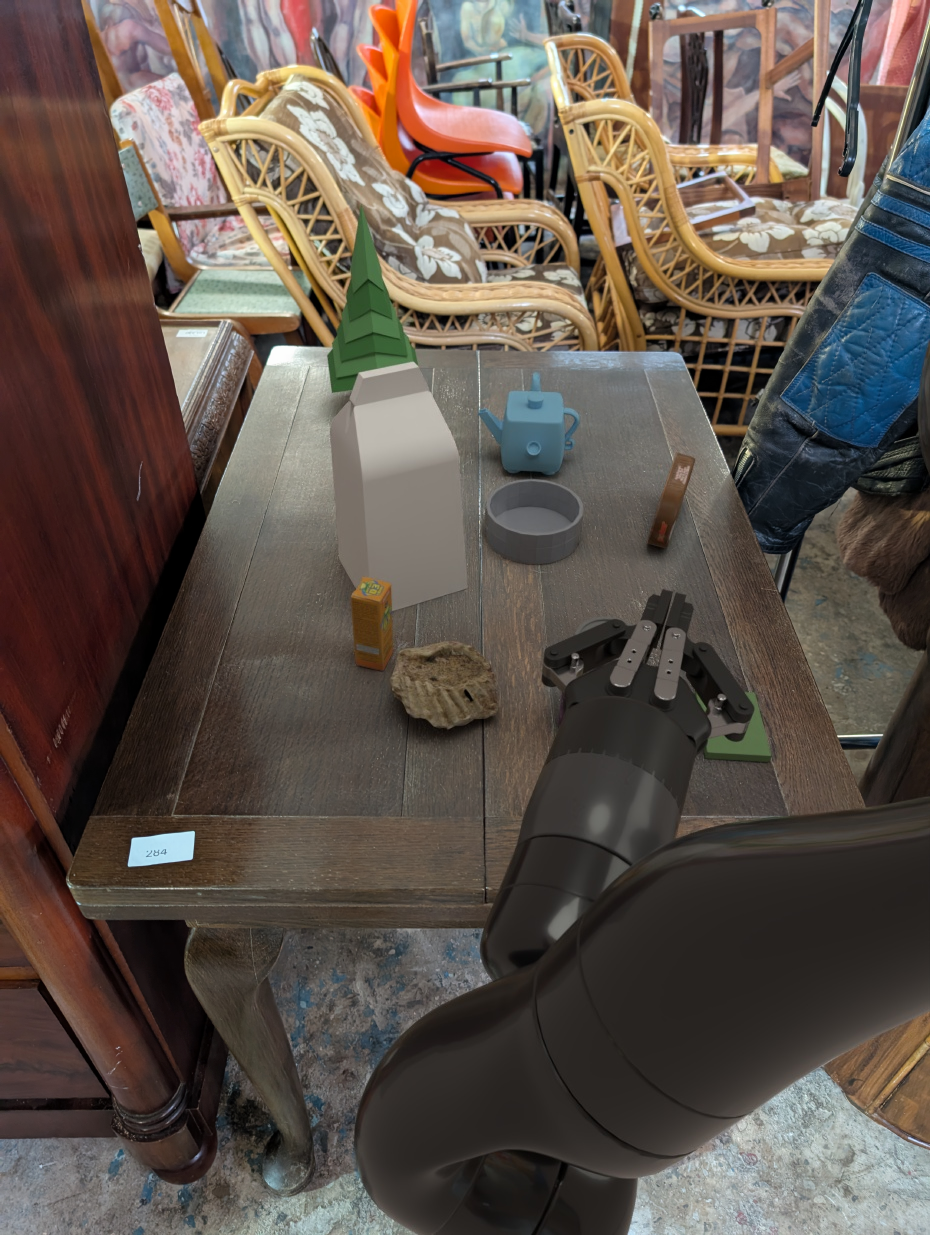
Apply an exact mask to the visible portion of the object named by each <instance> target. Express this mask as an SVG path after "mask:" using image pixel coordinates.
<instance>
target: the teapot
mask: <svg viewBox="0 0 930 1235" xmlns="http://www.w3.org/2000/svg"><path fill="white" fill-rule="evenodd" d="M529 388H530V389H529V390H511V391H509V393H508V395H507V400H506V404H505V409H504V414H503V418H502V420H500V419H499V418H498V417H497V416H496V415H494V413H493V412H491V410H489V409H488V407H486V408H481V409H477V410H478V412H477V414H478V416H479V417H480V419H481V420H482V422H483V423H484V426H486V428H487V429H488V431H489V432H490V434H491V435H492V437H493V438H494V439H495V441H496V443H497V445H499V446H500V457H501V458H500V459H501V463H502V467H503V469H504V470H505V471H507V472H508V473H510V474H518V473H520V472H521V471H522V472H541V474H543V475H546V476H552V475H554V474H556V473H557V472H559V471H560V469H561V467H562V464H563V460H564V454H565V451H571V450H572V449H574V447H575V445H576V442H575V441H576V440H575V439H574V437H573V438H572V436H573V435H574V434H575V433H576V431H577V429H578V428H579V425H580V423H581V422H580V421H581V418H580V415H579V414H578V412H577V411H576V410H575V409H573V408H570V407H564V399H563V395H562V394H561V393H560V392H555V391H554V392H553V391H542V389H541V375H540V373H539V372H536V371H535V372H534V373H533V374H532V377H531V384H530V387H529ZM565 415H568V416H570V417H572V418H573V419H574V420H573V423H572V425H571V427H570V428H569V429H568V430H567V432H566V419H565ZM567 442H569V443H568V444H567Z"/></svg>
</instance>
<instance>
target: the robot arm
mask: <svg viewBox="0 0 930 1235" xmlns="http://www.w3.org/2000/svg"><path fill="white" fill-rule="evenodd" d="M918 388H919V389H918V395H917V396H918V397H917V428H918V439H919V440H918V441H919V445H920V451H921V456H922V459H923V462H924V464H925V466H926V469H927V472H928V475H929V476H930V339H929V341H928V344H927V347H926V351H925V355H924V358H923V363H922V369H921V373H920V379H919V387H918ZM673 594H674V591H672V590H668V589H665V588H662V589H661V593H660V595H659V594H654V593H653V594H651V595H650V596H649V597H648V598H647V602H646V604H645V607H644V609H643V612H642V615H641V618H640V621H638V622H637V623H636V624H632V626H626V624H625V623H624V622H623V621H622V620H623V619H622V620H619V619H620V618H619V619H612V620H609V621H607V622H605V623H602V624H600V625H598V626H595V627H593V628H591V629H588V630H586V631H584V632H582V633H579V634H577V635H575V634H574V635H575V636H574V635H573V636H570V637H568V638H566V639H563V640H561V641H558V642H556V643H554V644H551V645H550V646H547V647H546V648H545V649H544V652H543V659H542V665H541V666H542V667H541V682H542V684H543V685H544V686H546V687H548V688H557V689H558V690H559V692H560V693H561V694H562V693H563V694H564V697H565V698H564V700H563V710H564V713H565V714H564V717H563V719H562V722H561V724H560V725H559V727H558V729H557V732H556V734H555V737H554V739H553V741H552V743H551V746H550V749H549V751H548V754H547V756H546V758H545V761H544V762H543V766H542V769H541V771H540V773H539V776H538V778H537V780H536V783H535V786H534V789H533V791H532V793H531V795H530V797H529V800H528V803H527V805H526V808H525V811H524V814H523V818H522V821H521V825H520V829H519V834H518V838H517V841H516V846H515V848H514V851H513V853H512V856H511V858H510V861H509V863H508V865H507V868H506V870H505V873H504V875H503V878H502V880H501V883H500V885H499V887H498V891H497V893H496V896H495V898H494V901H493V903H492V905H491V908H490V910H489V912H488V914H487V918H486V921H485V924H484V927H483V928H482V933H481V936H480V942H479V957H480V960H481V963H482V966H483V970H484V971H485V973H486V975H487V976H488V977H489V979H490V980H491V981H489V982H487V983H484V984H482V985H480V986H478V987H476V988H474V989H472V990H469V991H467V992H465V993H463V994H460V995H458V996H455V997H453V998H451V999H449V1000H448V1001H446V1002H443V1003H442V1004H440V1005H438V1006H437V1007H435V1008H433V1009H431V1010H430V1011H428V1012H426V1013H425V1014H424V1015H423V1016H421V1017H419V1019H418V1020H416V1021H415V1022H414V1023H412V1024H411V1025H410V1026H409V1027H407V1029H406V1030H405V1031H403V1032H402V1033H401V1034H400V1036H398V1038H397V1039H396V1040H395V1041H394V1042H393V1043H392V1044H391V1045H390V1047H388V1049H387V1050H386V1051H385V1053H384V1054H383V1056H382V1057H381V1059H379V1061H378V1063H377V1065H376V1066H375V1068H374V1069H373V1070H372V1073H371V1074H370V1076H369V1079H368V1080H367V1082H366V1085H365V1087H364V1090H363V1092H362V1095H361V1097H360V1100H359V1103H358V1108H357V1111H356V1115H355V1119H354V1120H355V1122H354V1130H353V1150H354V1160H355V1164H356V1168H357V1172H358V1175H359V1178H360V1182H361V1184H362V1187H363V1188H364V1190H365V1191H366V1194H367V1195H368V1197H369V1198H370V1199H371V1201H372V1202H373V1203H374V1204H375V1206H376V1207H377V1208H378V1209H379V1210H381V1211H382V1212H383V1214H384V1215H386V1216H387V1217H388V1218H390V1219H391V1220H393V1221H394V1222H396V1224H399V1225H400V1226H402V1227H404V1228H405V1229H407V1230H409V1231H411V1232H412V1233H414V1234H415V1235H629V1232H630V1228H631V1224H632V1221H633V1216H634V1211H635V1207H636V1201H637V1195H638V1186H639V1179H640V1178H645V1177H649V1176H652V1175H655V1174H657V1173H659V1172H663V1171H664V1170H666V1169H668V1168H671V1167H672V1166H674V1165H675V1164H677V1163H679V1162H681V1161H682V1160H683V1159H686V1158H687V1157H688V1156H690V1155H691V1154H692V1153H695V1152H697V1150H698V1149H701V1148H702V1147H703V1146H705V1145H706V1144H708V1143H709V1142H710V1141H712V1140H713V1139H715V1138H717V1137H718V1136H720V1135H722V1133H724V1132H726V1131H727V1130H728V1129H730V1128H731V1127H733V1126H734V1125H736V1124H737V1123H739V1122H740V1121H741V1120H743V1119H745V1118H746V1117H748V1116H750V1115H751V1114H752V1113H754V1111H756V1110H758V1109H759V1108H760V1107H762V1106H763V1105H765V1104H767V1102H770V1100H773V1098H775V1097H777V1096H778V1095H780V1094H781V1093H782V1092H784V1091H785V1090H786V1089H788V1088H789V1087H790V1086H792V1085H793V1084H795V1083H797V1082H798V1081H800V1080H801V1079H803V1078H805V1077H806V1076H808V1075H810V1074H811V1073H813V1072H815V1071H817V1070H818V1069H820V1068H821V1067H823V1066H825V1065H827V1064H828V1063H830V1062H831V1061H833V1060H836V1058H838V1057H841V1056H842V1055H844V1054H846V1053H848V1052H850V1051H852V1050H853V1049H856V1048H858V1047H859V1046H861V1045H863V1044H865V1043H867V1042H869V1041H871V1040H873V1039H874V1038H877V1037H879V1036H881V1035H883V1034H885V1033H887V1032H889V1031H891V1030H893V1029H895V1028H897V1027H900V1026H902V1025H904V1024H907V1023H909V1022H911V1021H913V1020H915V1019H917V1018H919V1017H921V1016H923V1015H925V1014H929V1013H930V795H926V796H921V797H916V798H911V799H906V800H901V801H895V802H891V803H885V804H880V805H874V806H867V807H859V808H850V809H842V810H835V811H826V812H815V813H804V814H794V815H781V816H770V817H764V818H756V819H749V820H748V819H747V820H742V821H733V822H727V823H723V824H720V825H719V824H718V825H714V826H710V827H707V828H703V829H699V830H696V831H693V832H691V833H688V834H685V835H682V836H680V837H678V832H679V829H680V828H679V827H680V823H681V819H682V815H683V812H684V807H685V802H686V799H687V793H688V790H689V785H690V781H691V777H692V773H693V769H694V765H695V761H696V758H697V756H699V754H701V753H702V752H704V749H705V748H706V746H707V744H708V739H710V738H714V737H718V736H723V735H724V736H725V737H726V738H727V739H728V740H730V741H733V742H739V741H742V740H743V738H744V736H745V734H746V731H747V728H748V726H749V723H750V721H751V718H752V715H753V713H754V710H755V708H754V705H753V704H752V702H751V701H750V699H749V698H748V697H747V695H746V694H745V692H746V691H744V690H743V688H742V687H741V686H740V684H739V682H738V681H737V679H736V678H735V677H734V675H733V674H732V673H731V671H730V669H729V668H728V667H727V666H726V664H725V662H724V661H723V660H722V659H721V657H720V655H719V654H718V653H717V651H716V650H715V649H714V647H713V646H712V645H711V644H710V643H708V642H705V641H698V642H696V643H695V642H694V641H692V640H690V638H689V637H688V633H689V629H690V625H691V621H692V618H693V613H694V611H695V608H694V606H693V603H690V602H686V598H687V594H684V593H681V592H675V594H674V596H673ZM672 599H673V600H672ZM671 602H672V603H671ZM662 633H663V634H662ZM661 636H662V638H661ZM660 639H661V642H660ZM659 642H660V646H659ZM658 646H659V651H661V652H660V656H659V660H658V665H651V664H648V662H649V661H650V658H651V654H652V652H653V650H654V649H657V648H658ZM619 657H620V659H619V660H615V659H617V658H619ZM613 660H614V661H613ZM595 668H596V669H595ZM593 669H594V670H593ZM591 670H592V671H591ZM589 671H590V672H589ZM681 671H683V672H684V673H685V677H686V680H688V682H689V683H690V685H691V687H692V688H693V690H694V692H695V691H696V693H697V694H698V696H699V697H700V699H701V701H702V702H703V704H704V705H705V707H706V708H707V709H706V712H704V710H703V708H702V707H701V705H700V703H699V702H698V700H697V698H696V697H695V695H694V692H693V690H692V689H691V687H690V685H689V684H688V682H687V681H686V680H685V678H683V677H681V675H680V673H681ZM587 672H588V673H587ZM584 673H586V674H584ZM582 674H584V675H582Z"/></svg>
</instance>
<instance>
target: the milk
mask: <svg viewBox="0 0 930 1235" xmlns="http://www.w3.org/2000/svg"><path fill="white" fill-rule="evenodd" d="M329 438H330V439H329V440H330V452H331V465H332V478H333V492H334V504H335V506H334V508H335V518H336V531H337V544H338V545H337V547H338V558H339V562H340V564H341V566H342V567H343V569H344V571H345V572H346V574H347V576H348V578H349V579H350V581H351V584H352V585H353V587H354V588H355V590H356V589H357V587H358V586H359V584H360V583H361V579H362V577H368V578H372V579H376V580H381V581H384V582H388V583H390V584H391V598H392V612H395V611H398V610H401V609H405V608H408V607H412V606H415V605H419V604H421V603H424V602H428V601H431V600H434V599H437V598H438V599H439V598H440V597H444V596H447V595H450V594H453V593H458V592H460V591H463V590H467V589H468V588H469V586H468V573H467V558H466V541H465V529H464V528H465V527H464V515H463V513H464V512H463V499H462V496H463V495H462V484H461V468H460V467H461V466H460V455H459V450H458V447H457V444H456V441H455V438H454V436H453V434H452V432H451V430H450V428H449V425H448V424H447V421H446V419H445V418H444V416H443V414H442V412H441V409H440V408H439V406H438V404H437V402H436V400H435V398H434V396H433V393H432V392H431V391H430V388H429V385H428V383H427V381H426V379H425V377H424V375H423V373H422V371H421V368H420V367H419V365H418V366H417V365H416V364H415V362H409V363H404V364H399V365H394V366H389V367H384V368H379V369H374V370H369V371H364V372H359V373H358V376H357V379H356V382H355V384H354V387H353V390H351V393H350V395H349V400H348V401H347V402H346V403H345V404H344V406H342V407H341V409H340V410H339V411H338V413H337V414H336V415H334V417H333V418H332V420H331V423H330V427H329Z"/></svg>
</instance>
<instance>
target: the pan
mask: <svg viewBox="0 0 930 1235" xmlns="http://www.w3.org/2000/svg"><path fill="white" fill-rule="evenodd" d="M584 509H585V508H584V504H583V502H582V500H581V497H579V496H578V494H576V493H575V491H574V490H572V489H571V488H569V487H566V486H565V485H563V484H561V483H558V482H554V481H550V480H547V479H537V478H525V479H516V480H513V481H509V482H506V483H503V484H501V485H500V486H498V487H496V488H495V489H493V491H492V492H490V494H489V495H488V496H487V499H486V503H485V514H484V516H485V518H484V519H485V520H484V522H485V524H484V532H485V539H486V542H487V544H488V545H489V547H490V549H492V550H493V551H494V552H495V553H496V554H498V555H499V556H501V557H503V558H505V559H507V560H509V561H512V562H515V563H519V564H525V565H545V564H551V563H555V562H559V561H561V560H564V559H566V558H567V557H568V556H570V555H572V554H573V552H575V551H576V549H577V548H578V546H579V543H580V539H581V531H582V523H583V517H584V516H583V515H584Z"/></svg>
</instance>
